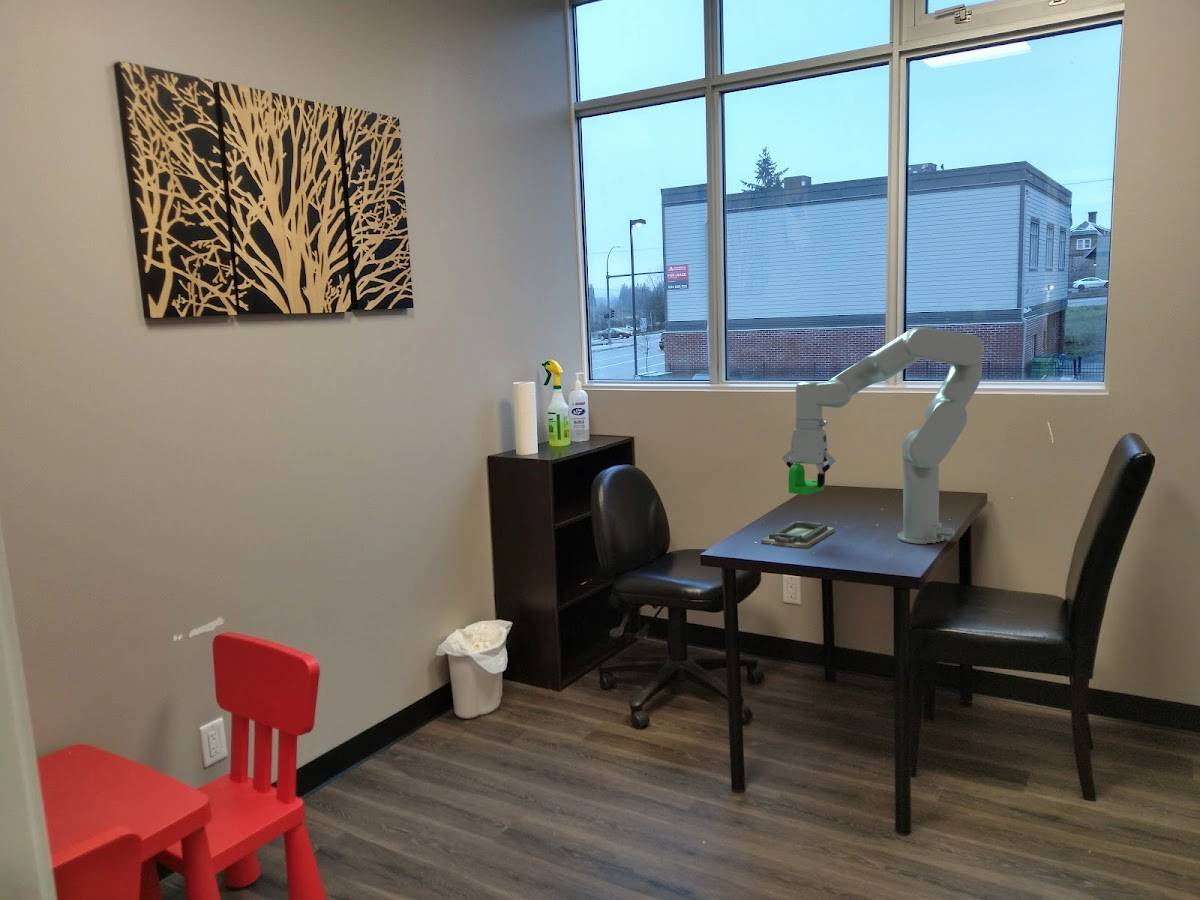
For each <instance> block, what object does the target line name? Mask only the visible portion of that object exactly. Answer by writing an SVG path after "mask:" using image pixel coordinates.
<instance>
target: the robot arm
mask: <svg viewBox="0 0 1200 900" xmlns="http://www.w3.org/2000/svg"><path fill="white" fill-rule="evenodd" d="M984 351H985V346H984V342H983V341H982V340H981V339H980V338H979V336H977V335H975V334H973V333H965V332H958V331H949V330H942V329H936V328H930V327H926V326H915V327H913V328H910V329H908V330H907V331H905V332H904V333H901V334H900V335H899V336H897V337H895V338H894V339H893V340H891V341H889V342H888V343H886V344H885V345H884V346H881V348H879V349H877V350H875V351H874V352H871V354H869V355H867V356H866V357H864V358H863V359H861V360H860V361H858V362H856V363H855V364H852V365H851V366H849V367H848V368H846V369H844V370H843V371H842V372H840V373H839V374H837V375H836V376H833V377H832V378H830V379H829V380H827V382H825V383H821V382H819V381H800V382H798V383H797V384H796V386H795V428H793V431H792V435H791V440H790V450H788V452H786V453H785V454H784V455H783V456H782V458H781V459H782V460H783V462H784V463H785V464H786V466H787V467H788V468H789V469H790V467H791V466H792V465H793V464H799V465H801V464H802V465H803V464H805V465H815V466H816V468H817V470H818V473H817V475H816V476H817V478H816V480H817V487H822V486H823V484H824V485H825V483H826V473H827V472H828V470H830V469H831V467H832V466H833V465H835V464H836V462H837V460H836V459H835V457H833V456H832V455H831V454H830V453H829V448H828V437H827V432H826V429H824V427H827V426H828V421H826V420H824V418H823V407H825V408H833V409H834V408H835V409H841V408H843V407H846V406H847V405H848V404H849V403H850V401H851V398H852V396H854V395H856V394H858V393H859V392H860V391H862V390H864V389H865V388H867V387H869V386H871V385H874V384H877V383H880V382H881V383H882V382H884V381H887V380H888V379H891V378H893V377H894V376H895V375H897V374H899V373H900V372H902V371H903V370H905V369H906V368H908V367H910V366H911V365H913V364H915V363H916V362H918V361H919V360H925V361H931V362H936V363H937V362H938V363H945V364H949V368H948V369H949V370H948V372H947V374H946V377H945V378H944V381H943V382H942V384H941V386H940V387H939V389H938V390H937V392H936V394H935V395H934V397H933V398H932V399H931V401H930V402H929V404H928V405H927V406H926V409H925V411H924V412H925V413H924V417H925V421H924V423H923V425H922V426H921V428H917V429H914V430H911V431H910V432H908V433H907V434H906V435H905V437H904V438H903V441H902V444H901V445H902V446H901V455H902V470H903V472H902V473H903V475H902V476H903V478H902V479H903V480H902V481H903V486H902V487H903V489H902V492H903V493H902V494H903V495H902V497H903V500H902V502H903V503H902V507H903V508H902V509H903V510H902V513H903V514H902V517H903V518H902V521H903V523H902V525H903V526H902V530H901V531H899V532H898V533H897V539H898V540H899V541H901V542H905V543H909V544H918V545H928V544H927V543H933V544H937V543H936V542H939V543H941V542H940V541H942V542H943V541H945V537H952V538H953V537H955V530H954V529H953V528H948V527H944V526H942V522H939V521H940V520H939V517H940V515H939V513H940V510H939V509H940V506H939V505H940V470H939V469H940V467H939V465H940V464H941V463H942V462H943V460H944V459H945V458H946V456H947V455H948V453H949V452H950V450H951V449H952V448H953V446H954V445H955V444H956V442H957V440H958V439H959V437H960V435H961V434H962V432H963V431H964V429H965V427H966V425H967V421H968V411H967V409H966V408H967V406H968V404H969V403H970V401H971V399H972V398H973V396H974V395H975V392H976V390H977V389H978V387H979V385H980V384H981V383H980V382H981V379H982V377H983V376H982V374H983V361H982V357H983V356H984ZM826 462H827V464H825V463H826Z"/></svg>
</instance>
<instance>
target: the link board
mask: <svg viewBox="0 0 1200 900" xmlns="http://www.w3.org/2000/svg"><path fill="white" fill-rule="evenodd" d="M835 531H836V528H835V527H831V526H830V527H829V525H828V524H827V525H826V524H823V523H822V522H820V521H819V522H818V521H817V522H812V521H807V520H804V521H800V520H796V521H791V522H789V523H788V524H786V525H783V526H782V527H781V528H779V529H777V530H775V531H773V532H771V533H769V534H768V535H767V536H766V537H764V538H762V539H760V543H761V542H764V543H771V544H770V545H772V544H778V545H777V546H781V545H785V546H784V547H789V546H792V547H791V548H799V549H805V550H806V549H809V548H811V547H812V546H813V545H815V544H816V543H818V542H820V541H821V540H823V539H825V538H826V537H828V536H829V535H831V534H833V533H834V532H835ZM832 532H833V533H832Z"/></svg>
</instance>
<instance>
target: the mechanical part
mask: <svg viewBox="0 0 1200 900" xmlns="http://www.w3.org/2000/svg"><path fill="white" fill-rule="evenodd" d="M805 479H806V473H805V467H804V465H803V464H800V465H799V464H793V465H792V466H791V467H790V468H789V471H788V494H793V495H794V494H796V495H801V496H802V495H803V496H809V495H812V494H815V493H817V492H820V491H821V492H822V491H823V490H824V491H825V483H824V484H823V486H822V487H817V479H813V478H812V479H811V478H809V479H807V480H805Z"/></svg>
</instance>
